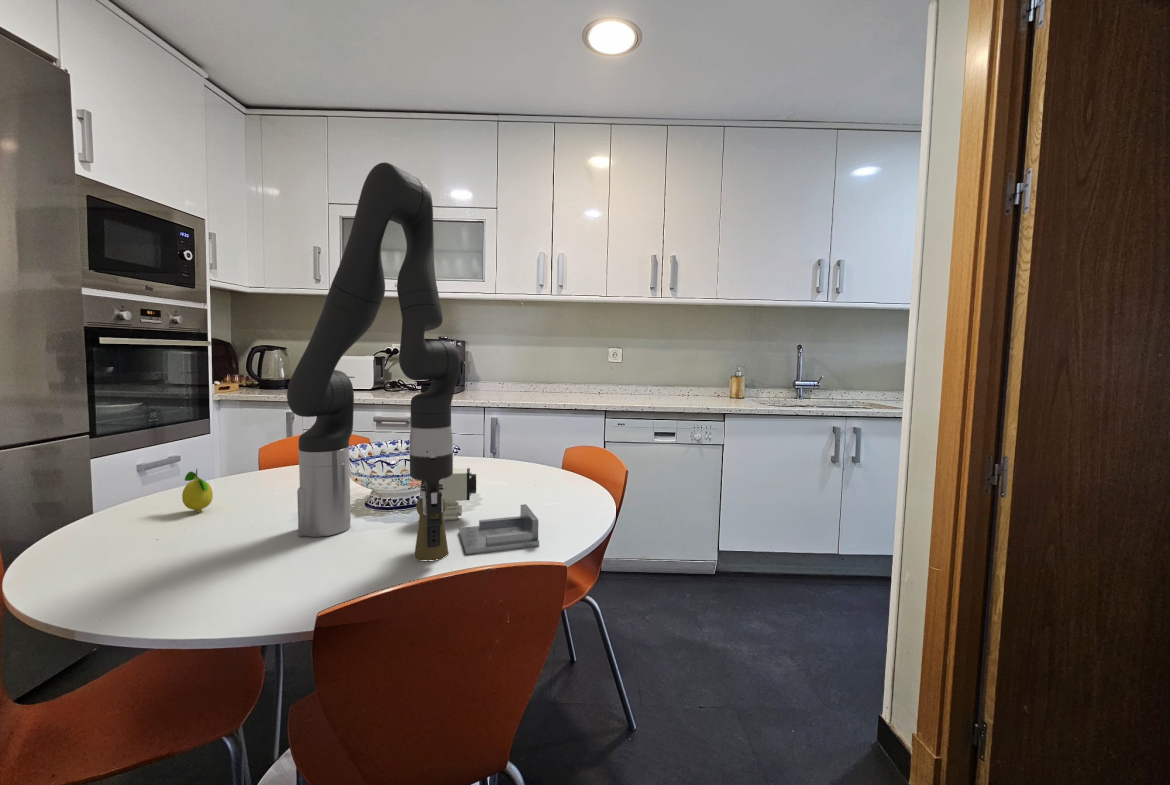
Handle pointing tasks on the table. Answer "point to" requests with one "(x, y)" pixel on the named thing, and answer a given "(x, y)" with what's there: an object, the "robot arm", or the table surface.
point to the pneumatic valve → (457, 491)
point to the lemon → (196, 492)
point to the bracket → (501, 533)
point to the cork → (421, 543)
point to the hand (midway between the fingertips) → (432, 538)
